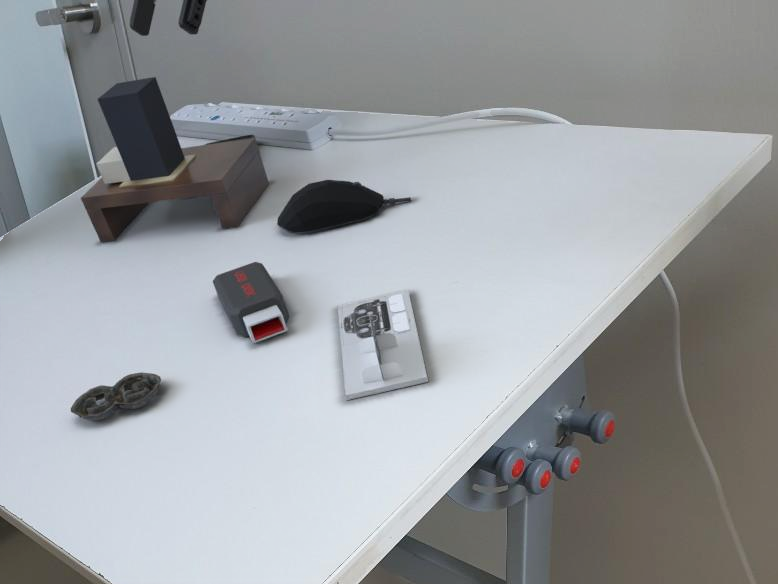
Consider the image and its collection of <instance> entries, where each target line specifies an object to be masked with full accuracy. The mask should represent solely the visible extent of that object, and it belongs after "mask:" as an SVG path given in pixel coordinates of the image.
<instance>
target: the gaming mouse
mask: <svg viewBox="0 0 778 584" xmlns="http://www.w3.org/2000/svg"><path fill="white" fill-rule="evenodd" d="M411 201H412V197H410V196H409V197H404V198H403V197H402V198H395V197H391V198H388V199H387V198H384V195H383V194H381V193H379V192H377V191H375V190H374V189H371V188H369V187H367V186H365V185H362V183H361V182H359V181H354V182H352V181H349V180H337V179H324V180H318V181H314V182H310V183H308V184H306V185H305V186H303V187H302V188H301V189H299V190H297V191H296V192H295V193H292V195H291V197H290V198H289V200H288V201H287V203H286V205H285V206H284V208H283V209H282V210H281V212H280V214H279V215H278V217H277V222H276V225H277V226H278V227H279V228H280V229H282V230H285V231H287V232H289V233H294V234H311V233H314V232H319V231H324V230H328V229H331V228H337V227H339V226H344V225H345V226H346V225H349V224H353V223H356V222H361V221H365V220H367V219H369V218H371V217H373V216H376V214H377V213H379V212H380V210H382V208H383V207H384V206H386V205H395V204H396V203H405V202H411Z"/></svg>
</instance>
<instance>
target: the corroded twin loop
mask: <svg viewBox="0 0 778 584" xmlns="http://www.w3.org/2000/svg"><path fill="white" fill-rule="evenodd" d="M161 382H162V378H161V376H160V375H158V374H156V373H151V372H143V371H142V372H136V373H129V374H127V375H125V376H124V377H122V378H121V379H119V380H118V381H117V382H116V383H115V384H114V385H112V386H110V385H109V386H108V385H98V386H94V387H92V388H89V389H88V390H87V391H86V392H83V393H82V394H81V395H80V396H79V397H77V399H75V400H74V402H73V404H72V405H71V407H70V412H71V413H72V414H74V415H76V416H78V418H82V419H84V420H89V421H91V420H92V421H93V420H94V421H100V420H103V419H107V418H108V417H109V416H111V415H114V414H115V412H116V411H117V410H118V408H119V407H121V408H122V409H127V410H131V409H133V410H136V409H139V408H143V407H144V406H145V405H146V404H148V403H150V402H151V401H152V400H153V399H154V398H155V397H156V396H157V393H158V391H159V390H160V384H161ZM128 391H134V392H133V393H130V394H128V395H126V392H128ZM103 399H104V403H102V404H99V405H98V401H101V400H103Z"/></svg>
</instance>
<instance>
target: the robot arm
mask: <svg viewBox="0 0 778 584" xmlns="http://www.w3.org/2000/svg"><path fill="white" fill-rule="evenodd" d="M156 2H157V0H133V5H132V9H131V13H130V17H129V28H130V29H131V30H132V31H133V32H135V33H136V34H138V35H140V36H142V37H147V36H149V35H150V31H151V26H152V22H153V19H154V18H153V17H154V14H155V10H156ZM206 4H207V0H182V4H181V9H180V13H179V18H178V21H177V23H178V26H179V28H180V29H181V30H183V31H184V32H186V33H187V34H189V35H198V33H199V30H200V27H201V25H202V21H203V16H204V13H205V8H206Z"/></svg>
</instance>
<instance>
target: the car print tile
mask: <svg viewBox="0 0 778 584" xmlns="http://www.w3.org/2000/svg"><path fill="white" fill-rule="evenodd" d="M337 318H338V329H339V330H338V331H339V340H340V351H341V363H342V374H343V386H344V398H345V400H346V401H349V400H350V401H351V400H354V399H358V398H363V397H368V396H372V395H377V394H381V393H385V392H390V391H394V390H399V389H403V388H407V387H411V386H416V385H421V384H425V383H428V382H429V378H428V373H427V369H426V365H425V360H424V354H423V351H422V345H421V341H420V337H419V332H418V328H417V323H416V319H415V314H414V309H413V305H412V300H411V295H410V291H409V289H404V290H401V291H396V292H392V293H391V292H390V293H387V294H383V295H379V296H374V297H371V298H366V299H365V298H364V299H362V300H356V301H353V302H349V303H344V304H340V305H337Z"/></svg>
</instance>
